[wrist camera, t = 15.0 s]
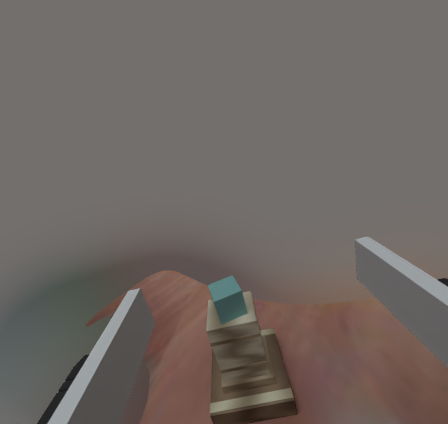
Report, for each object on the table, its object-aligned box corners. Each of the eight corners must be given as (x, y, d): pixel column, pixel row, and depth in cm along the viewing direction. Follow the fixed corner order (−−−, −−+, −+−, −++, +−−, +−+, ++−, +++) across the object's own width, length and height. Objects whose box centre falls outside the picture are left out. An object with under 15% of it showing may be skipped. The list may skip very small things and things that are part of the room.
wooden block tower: (266, 342, 38) (252, 288, 35) (275, 383, 32) (260, 322, 28) (223, 351, 39) (205, 298, 35) (224, 394, 32) (202, 335, 28)
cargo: (238, 296, 34) (232, 275, 33) (247, 313, 30) (241, 290, 29) (214, 306, 33) (207, 285, 32) (221, 324, 29) (214, 302, 28)
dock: (275, 339, 42) (273, 327, 41) (297, 414, 30) (294, 398, 29) (216, 351, 42) (212, 339, 41) (215, 429, 31) (209, 415, 30)
